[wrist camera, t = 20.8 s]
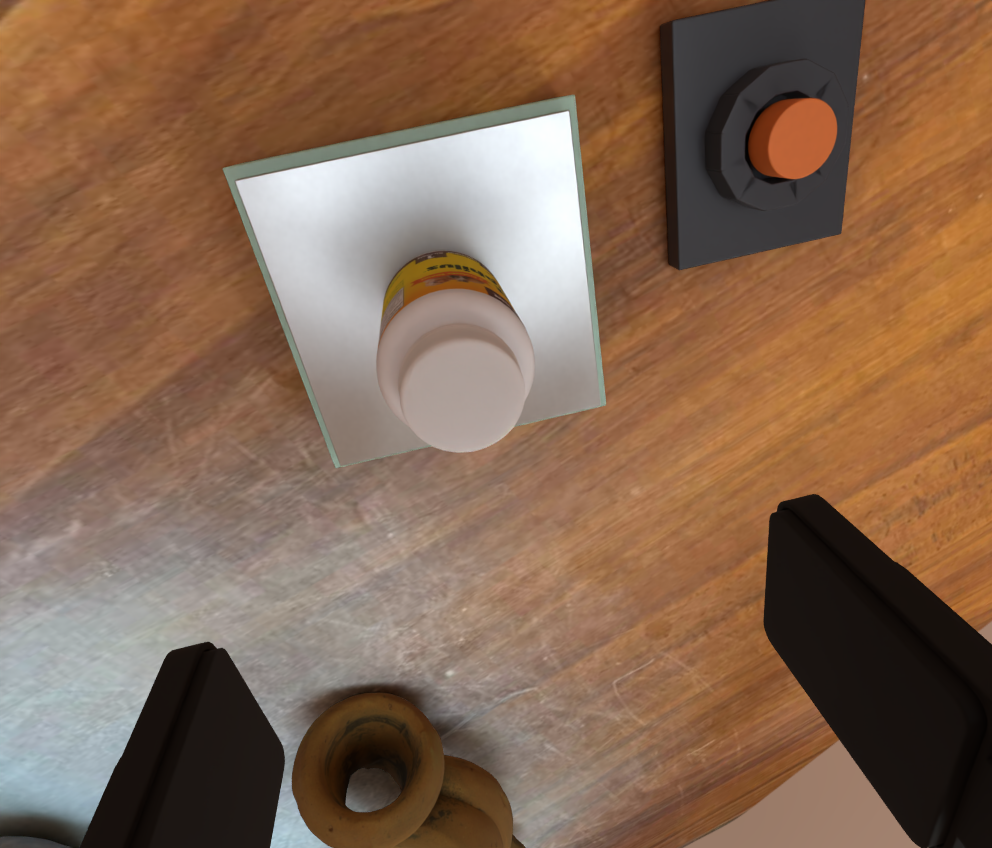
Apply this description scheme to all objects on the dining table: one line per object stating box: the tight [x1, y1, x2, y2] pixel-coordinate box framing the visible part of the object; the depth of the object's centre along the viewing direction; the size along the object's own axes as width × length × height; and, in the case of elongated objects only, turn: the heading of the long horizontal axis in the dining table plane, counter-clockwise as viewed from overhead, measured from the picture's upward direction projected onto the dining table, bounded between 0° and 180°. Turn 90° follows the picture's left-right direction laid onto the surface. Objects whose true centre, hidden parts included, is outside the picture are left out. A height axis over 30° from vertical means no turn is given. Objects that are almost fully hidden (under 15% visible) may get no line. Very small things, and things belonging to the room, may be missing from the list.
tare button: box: [748, 98, 837, 179], centre depth 26 cm, size 3×3×2 cm
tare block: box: [660, 0, 865, 270], centre depth 28 cm, size 11×9×3 cm
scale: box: [223, 95, 606, 468], centre depth 29 cm, size 15×15×4 cm
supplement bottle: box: [376, 250, 535, 453], centre depth 23 cm, size 6×6×10 cm
